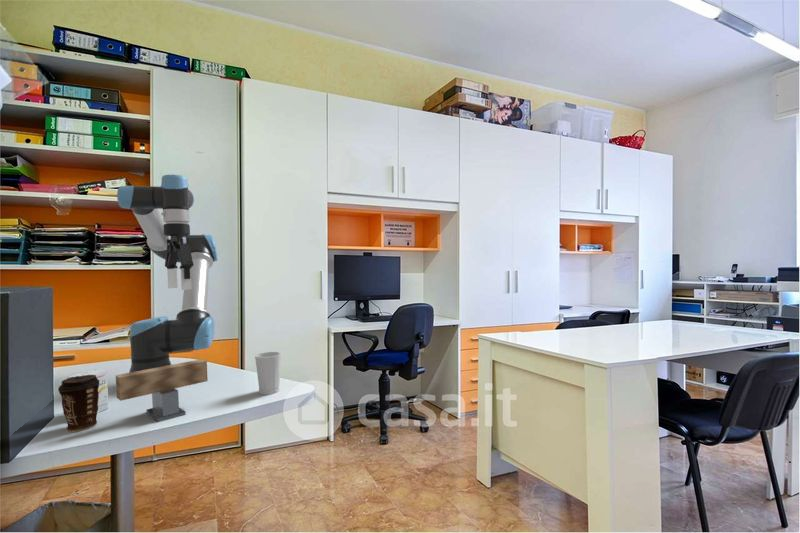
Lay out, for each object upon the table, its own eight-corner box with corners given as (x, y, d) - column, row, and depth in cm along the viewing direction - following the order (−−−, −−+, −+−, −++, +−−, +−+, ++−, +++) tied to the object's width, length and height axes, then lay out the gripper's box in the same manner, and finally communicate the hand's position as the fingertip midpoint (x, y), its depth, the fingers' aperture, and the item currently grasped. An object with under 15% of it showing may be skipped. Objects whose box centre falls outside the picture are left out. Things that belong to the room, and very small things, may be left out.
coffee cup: (77, 421, 112) (74, 374, 112) (109, 419, 113) (106, 372, 113) (52, 435, 104) (50, 383, 104) (87, 432, 104) (85, 381, 104)
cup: (251, 392, 133) (250, 355, 133) (274, 386, 139) (272, 350, 139) (264, 397, 128) (262, 358, 128) (286, 390, 134) (285, 353, 133)
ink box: (95, 408, 123) (93, 368, 123) (109, 408, 122) (108, 369, 122) (66, 419, 115) (64, 377, 114) (82, 419, 114) (80, 377, 113)
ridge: (146, 412, 118) (145, 388, 118) (173, 405, 123) (172, 382, 123) (157, 422, 110) (156, 396, 110) (185, 414, 115) (184, 389, 115)
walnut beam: (120, 400, 107) (119, 377, 107) (116, 397, 110) (115, 375, 110) (207, 381, 123) (206, 361, 123) (202, 378, 125) (201, 359, 125)
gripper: (152, 225, 139) (155, 288, 140) (176, 219, 122) (179, 291, 122) (176, 226, 145) (179, 286, 145) (202, 220, 127) (205, 289, 128)
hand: (179, 288), depth 134 cm, fingers open, 13 cm apart
